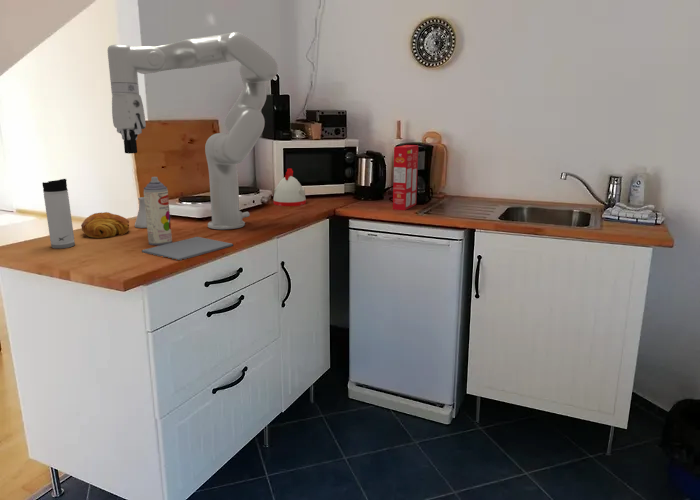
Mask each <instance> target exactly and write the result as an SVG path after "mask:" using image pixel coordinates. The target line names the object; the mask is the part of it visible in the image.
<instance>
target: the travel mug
mask: <svg viewBox="0 0 700 500" xmlns="http://www.w3.org/2000/svg"><path fill="white" fill-rule="evenodd" d="M41 184H42V189H43V190H42V191H43V198H44V206H45V212H46V220H47V225H48V234H49V239H50V247H51V248H52V249H59V250H60V249H67V248H71V247H74V246H76V245H75V244H76V242H75V234H74V228H73V221H72V220H73V219H72V212H71V211H72V210H71V204H70V199H69V198H70V197H69V192H68V191H69V190H68V184H67V178H62V179H61V178H60V179H55V180H50V181H47V182H46V181H45V182H44V181H43V182H42V183H41Z"/></svg>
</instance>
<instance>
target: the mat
mask: <svg viewBox="0 0 700 500" xmlns="http://www.w3.org/2000/svg"><path fill="white" fill-rule="evenodd" d="M230 247H231V248H232V247H234V244H233V243H232V242H225V241H221V240H217V239H211V238H205V237H202V236H201V237H200V236H194V237H191V238H186V239H183V240H179V241H172V243H169V244H165V245H156V246H154V247H149V248H145V249H142V250H141V252H142V253H144V254H148V255H152V254H153V256H156V255H157V257H160V256H163V257H162V258H164V257H168V258H172V259H171V260H173V259H177V260H180V261H183V260H182V259H184V260H188V259H191V258H194V257H197V256H201V255H205V254H209V253H213V252H217V251H219V250H223V249H227V248H230ZM168 258H167V259H168ZM187 258H188V259H187ZM177 260H176V261H177Z"/></svg>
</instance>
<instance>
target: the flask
mask: <svg viewBox="0 0 700 500" xmlns="http://www.w3.org/2000/svg"><path fill="white" fill-rule="evenodd" d="M138 201H139V202H138V203H139V205H138V211H137V214H136V215H137V216H136V218H135V223H134V227H135V228H141V229H143V228H145V229H147V222H146V211H145V201H144V196H143V197H138Z"/></svg>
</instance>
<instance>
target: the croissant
mask: <svg viewBox="0 0 700 500" xmlns="http://www.w3.org/2000/svg"><path fill="white" fill-rule="evenodd" d="M129 230H130V221H129V220H128V219H127V218H126V217H124V216H121V215H119V214H114V213H111V212H107V211H106V212H96V213H92V214H90V215H88V217H86V218H85V219H84V220H83V222H82V223H81V231H82V233H84V234H85V235H86V236H87V238H88V237H89V238H92V239H94V238H95V239H105V238H110V237H116V236H117V237H118V236H123V235H125V234H127V233H128V231H129Z"/></svg>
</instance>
